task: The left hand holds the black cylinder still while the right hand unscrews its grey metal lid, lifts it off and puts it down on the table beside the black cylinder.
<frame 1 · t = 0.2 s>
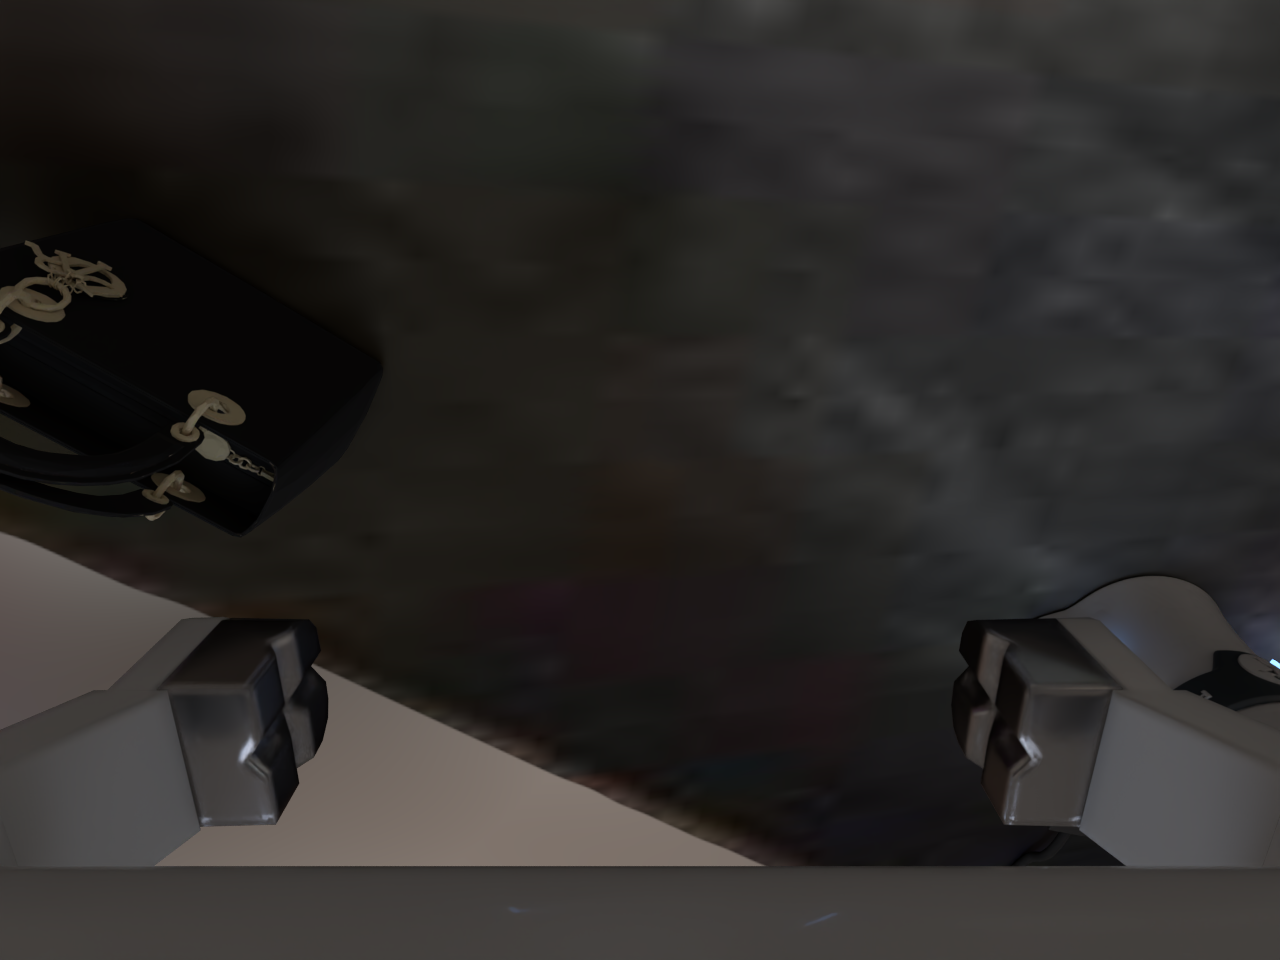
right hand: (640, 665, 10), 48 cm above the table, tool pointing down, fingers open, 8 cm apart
handbag: (241, 344, 57), on the table
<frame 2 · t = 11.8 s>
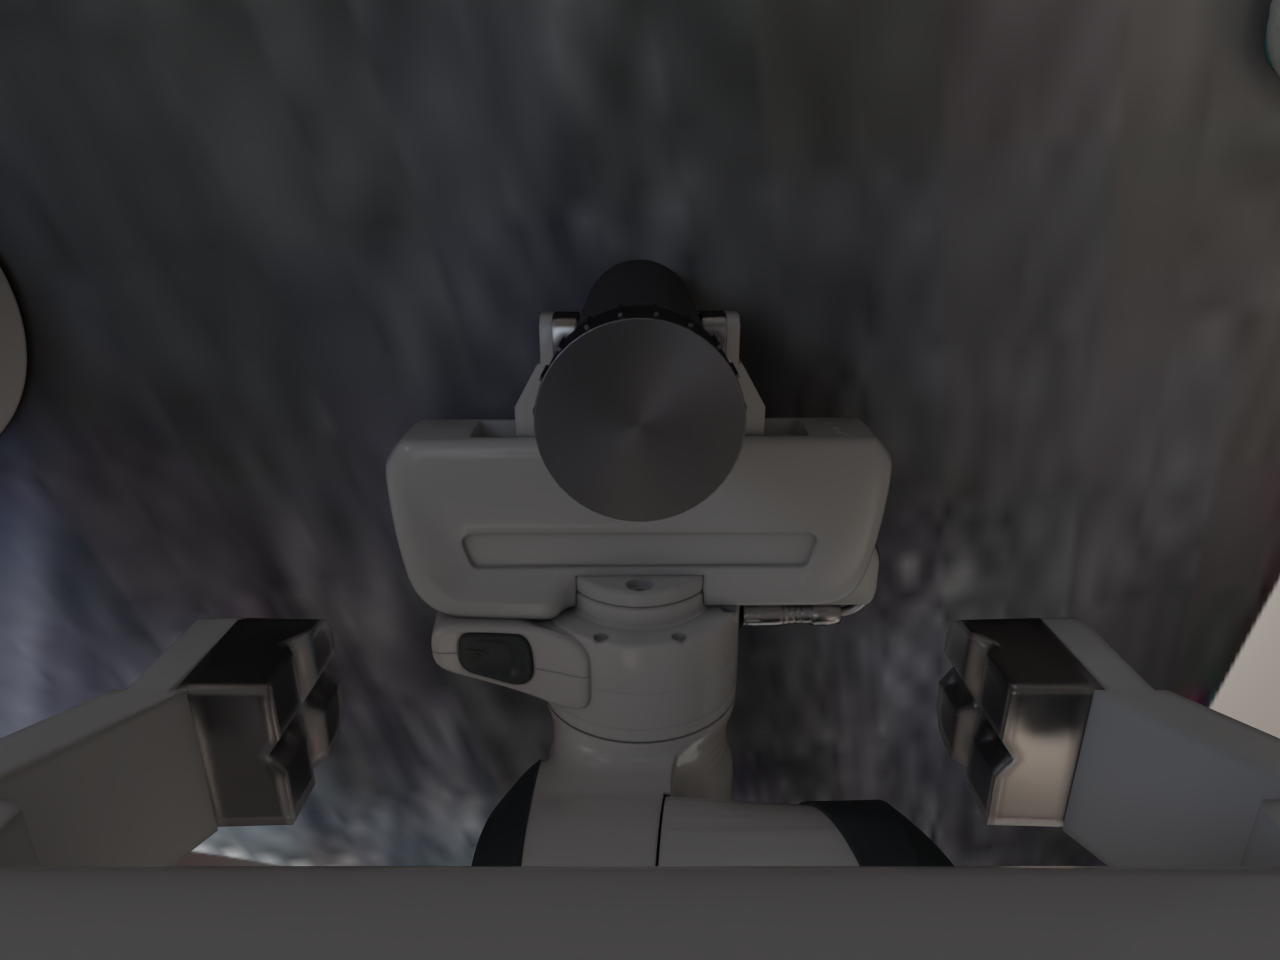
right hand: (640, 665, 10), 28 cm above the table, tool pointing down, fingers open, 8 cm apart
left hand: (638, 312, 32), fingers closed on black cylinder, 5 cm apart
black cylinder: (639, 314, 37), on the table, touching left hand
lid: (639, 420, 21), point 17 cm above the table, screwed on, not yet turned
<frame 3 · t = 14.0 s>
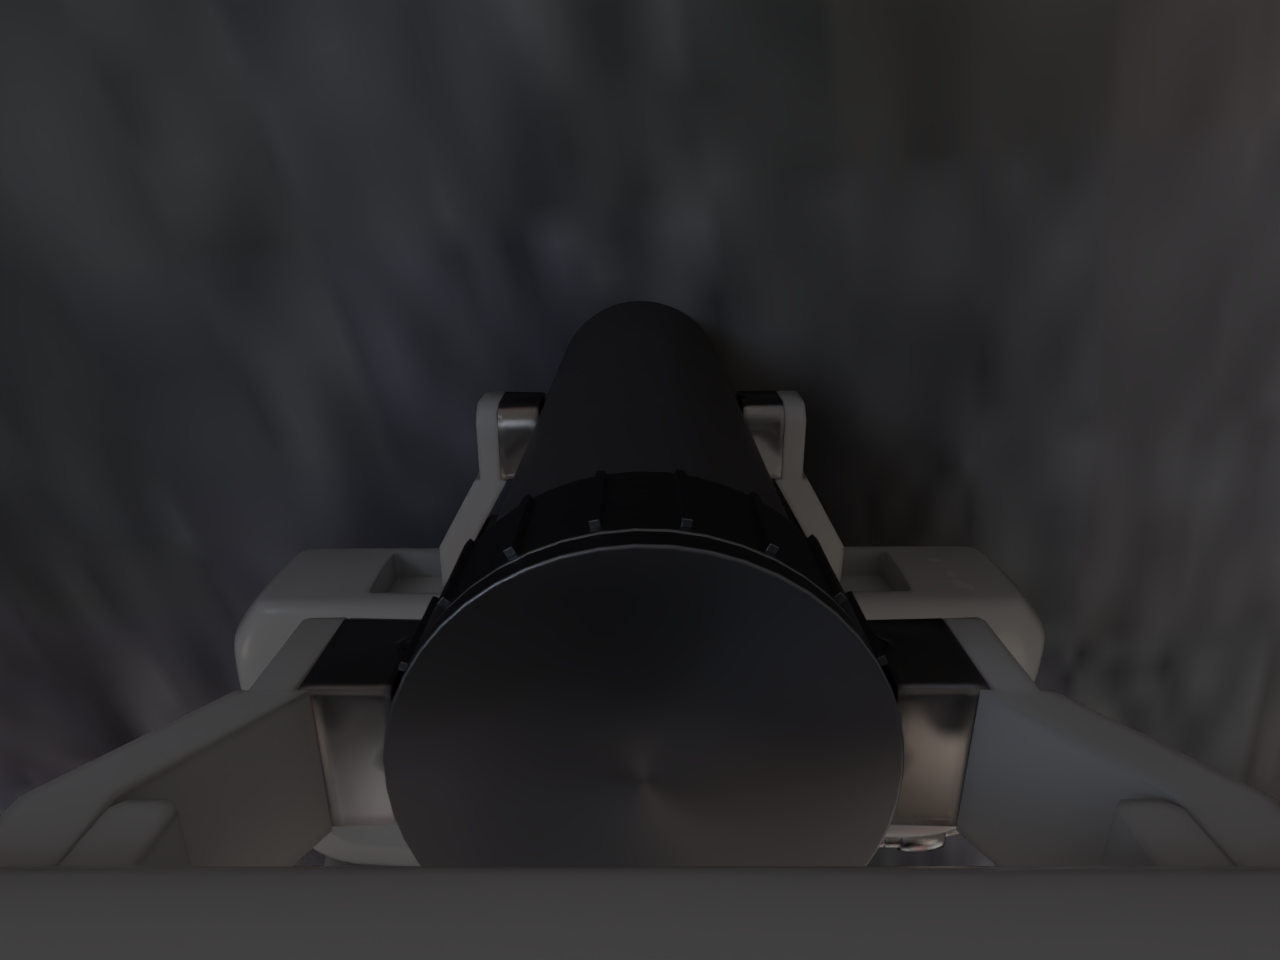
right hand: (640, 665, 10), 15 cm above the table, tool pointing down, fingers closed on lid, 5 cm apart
black cylinder: (640, 381, 25), on the table, touching left hand
lid: (643, 758, 9), point 17 cm above the table, screwed on, not yet turned, touching right hand
when the right hand's fingers open (15 cm above the table, at t = 15.3 s): lid stays where it is, point 17 cm above the table.
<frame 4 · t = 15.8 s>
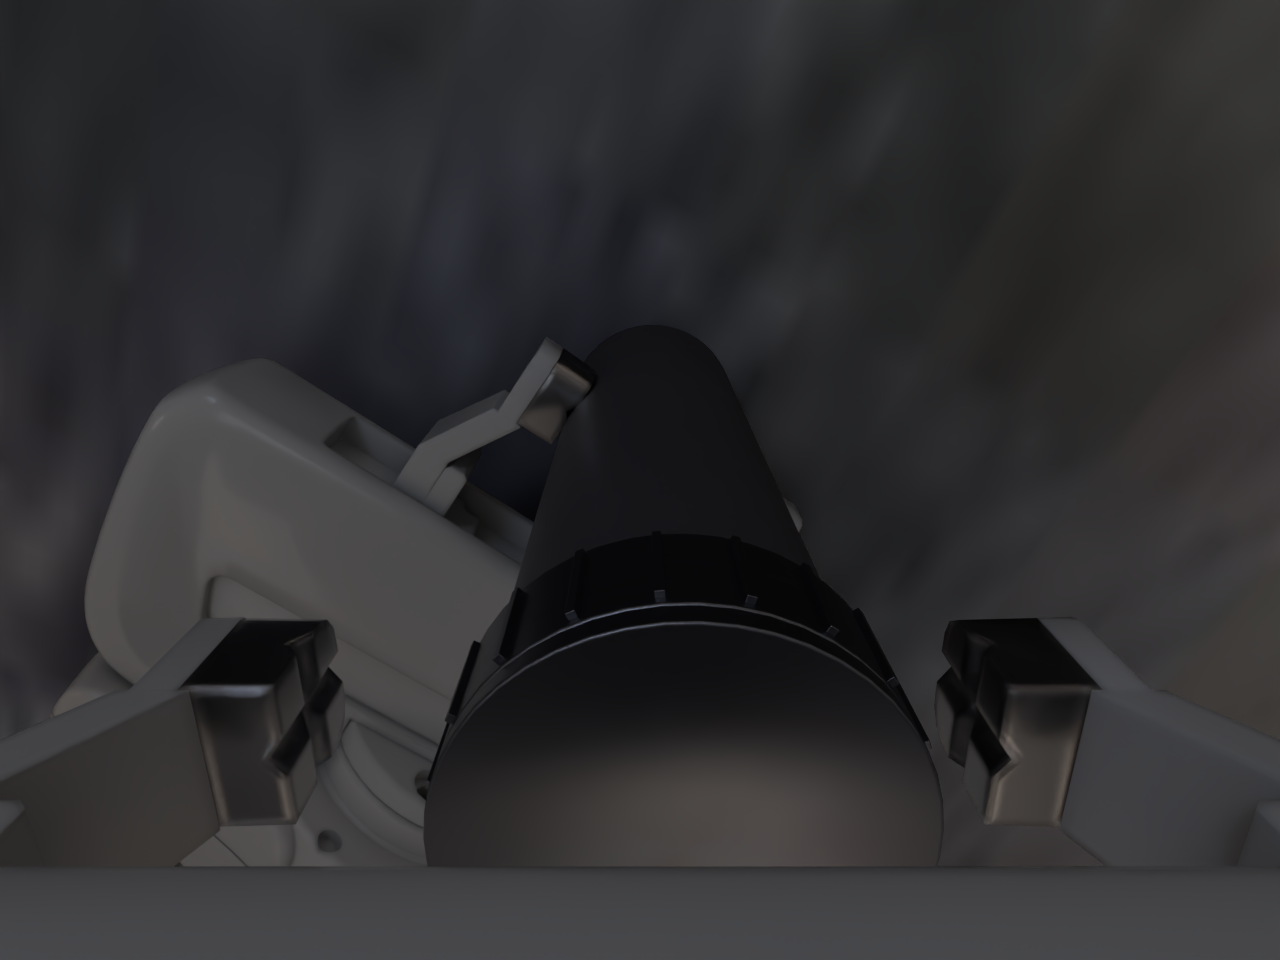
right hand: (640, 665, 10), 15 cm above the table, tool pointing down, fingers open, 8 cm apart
left hand: (675, 428, 20), fingers closed on black cylinder, 5 cm apart
black cylinder: (651, 404, 25), on the table, touching left hand
lid: (681, 824, 9), point 17 cm above the table, turned 68° so far, risen 0.2 cm, still on its thread
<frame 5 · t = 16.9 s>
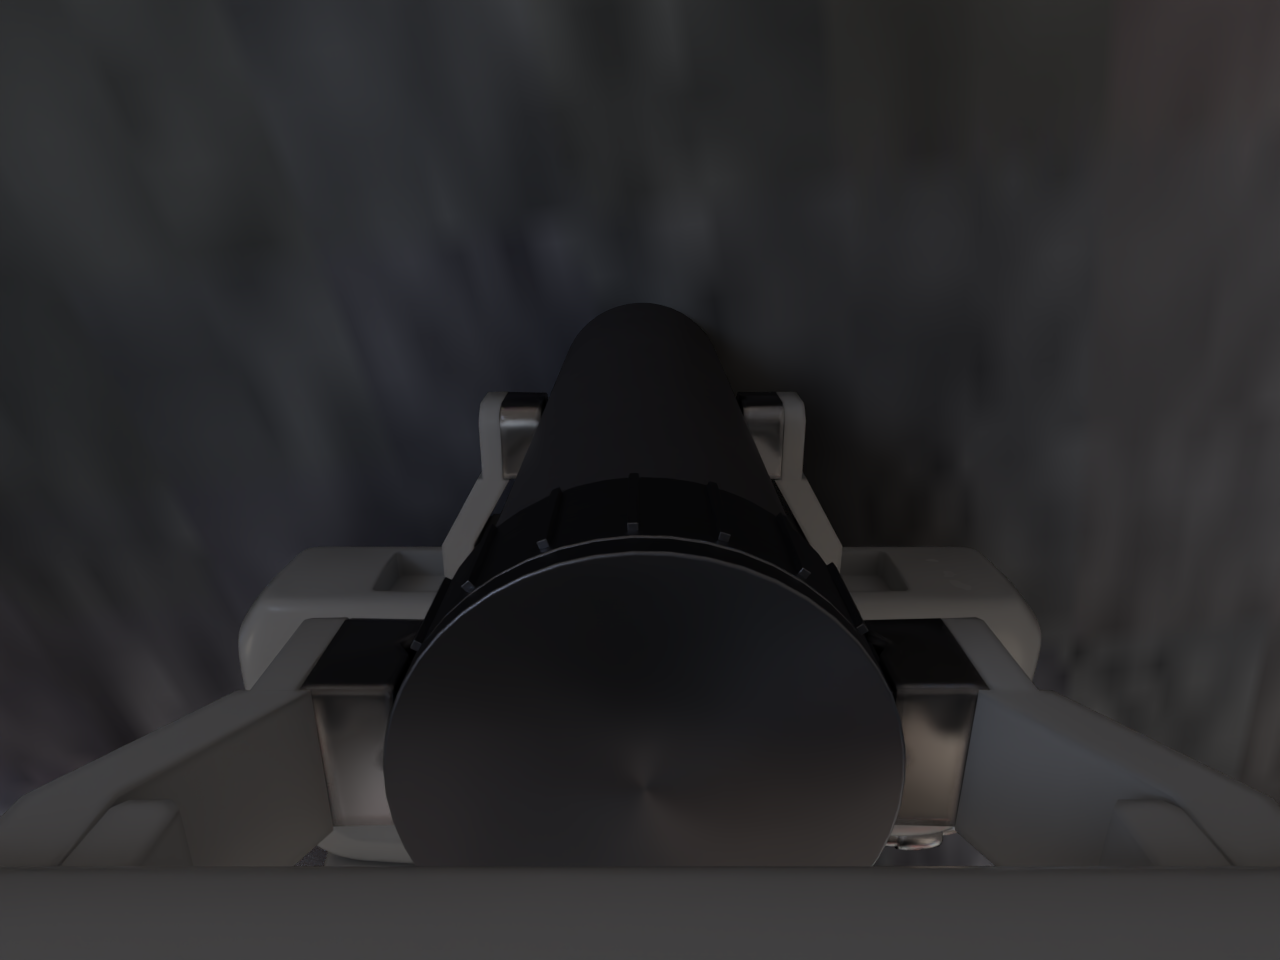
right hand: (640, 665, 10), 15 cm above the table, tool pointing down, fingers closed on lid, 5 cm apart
black cylinder: (641, 382, 25), on the table, touching left hand
lid: (644, 765, 9), point 17 cm above the table, turned 68° so far, risen 0.2 cm, still on its thread, touching right hand
when the right hand's fingers open (2 cm above the table, at t = 22.9 s): lid drops 2 cm, point 2 cm above the table.
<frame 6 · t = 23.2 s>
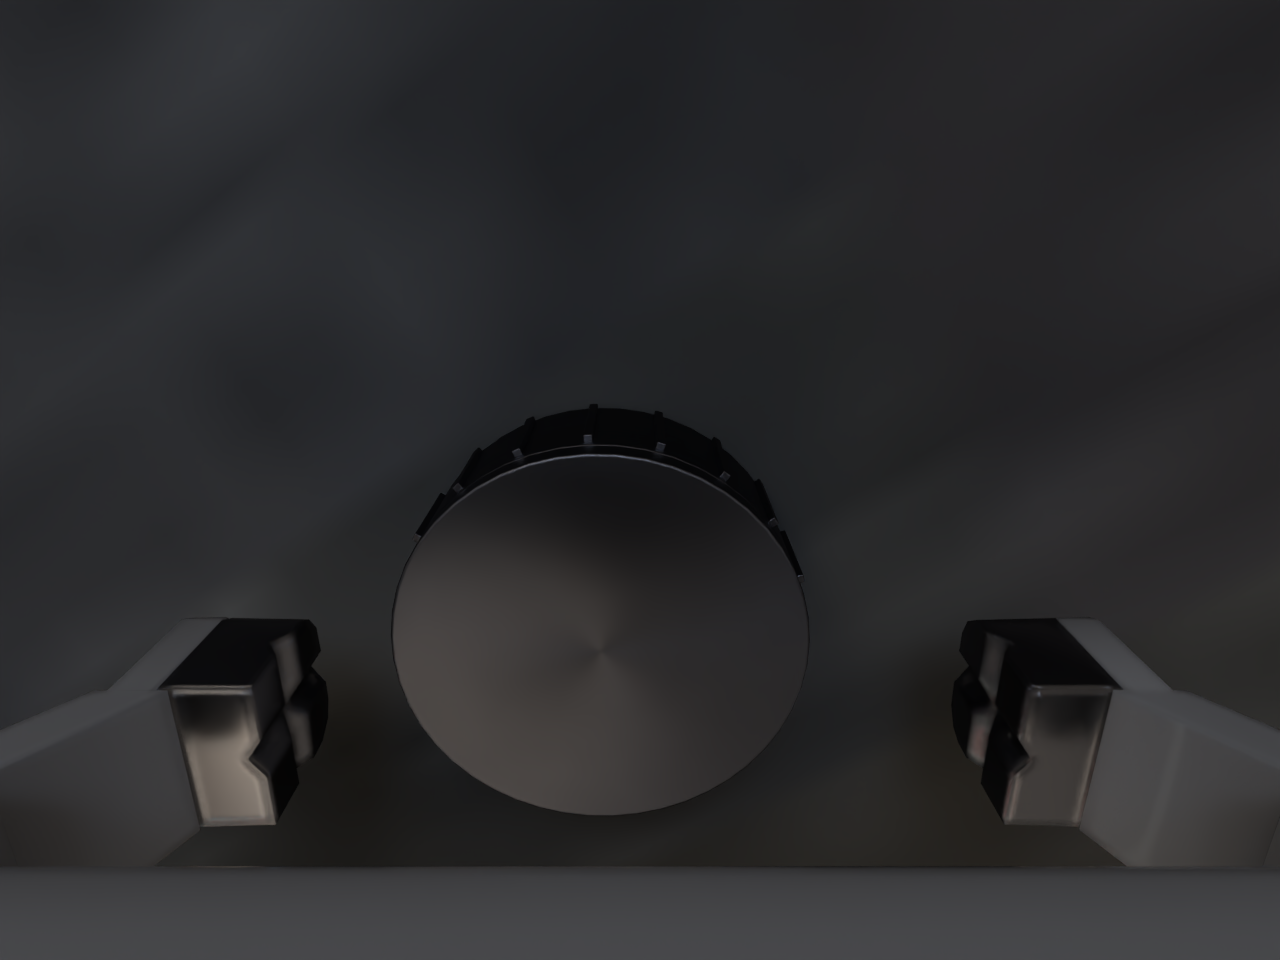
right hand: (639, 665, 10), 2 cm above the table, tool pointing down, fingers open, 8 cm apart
lid: (601, 637, 11), point 2 cm above the table, off its thread
when the left hand's fingers open (5 cm above the table, at t = 23.9 s): black cylinder stays where it is, on the table.
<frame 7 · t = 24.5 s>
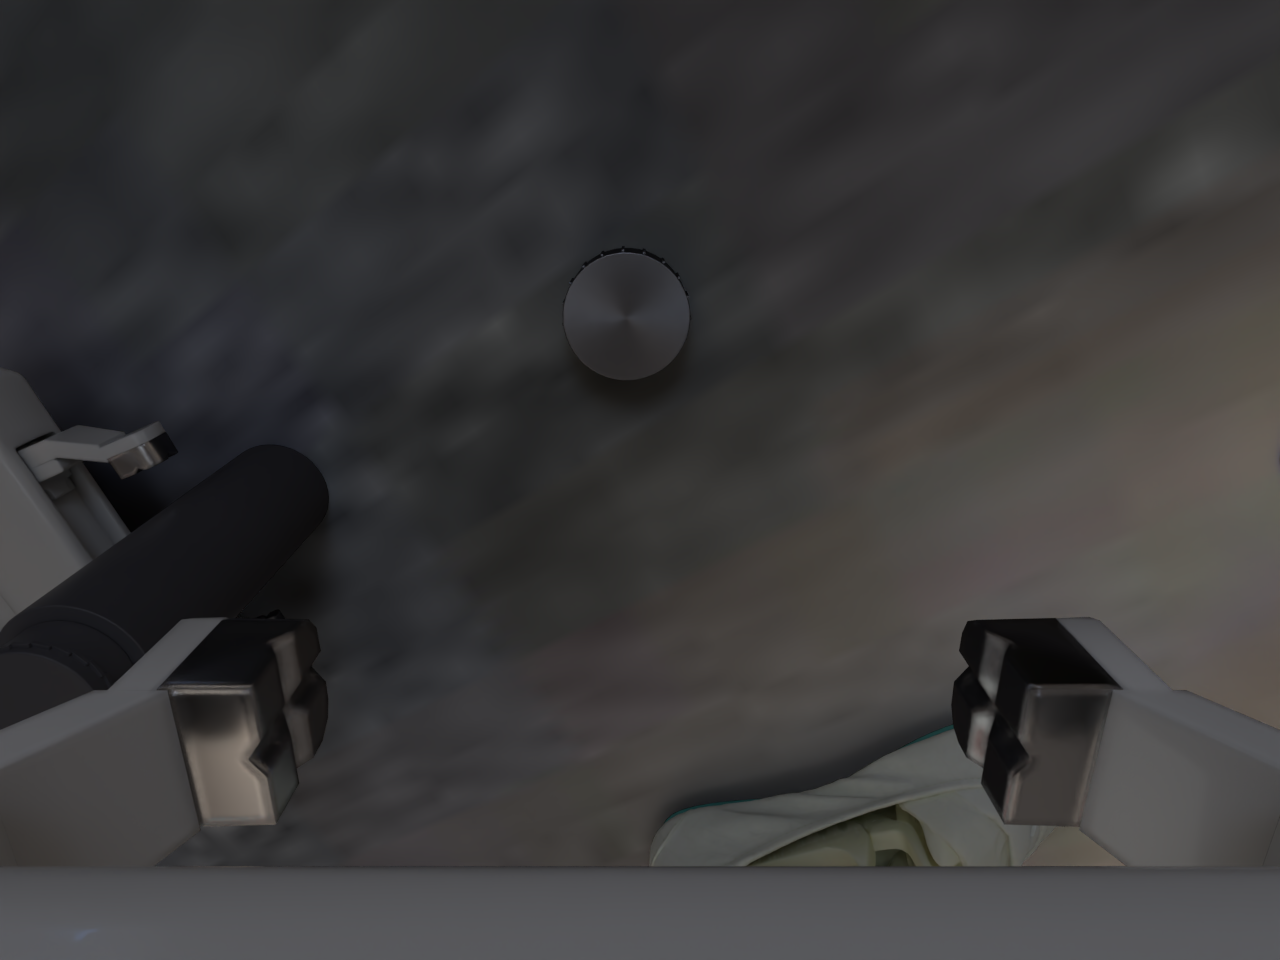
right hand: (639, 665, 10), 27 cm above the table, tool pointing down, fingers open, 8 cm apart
black cylinder: (277, 492, 39), on the table
lid: (626, 316, 34), point 2 cm above the table, off its thread
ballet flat: (859, 794, 46), on the table
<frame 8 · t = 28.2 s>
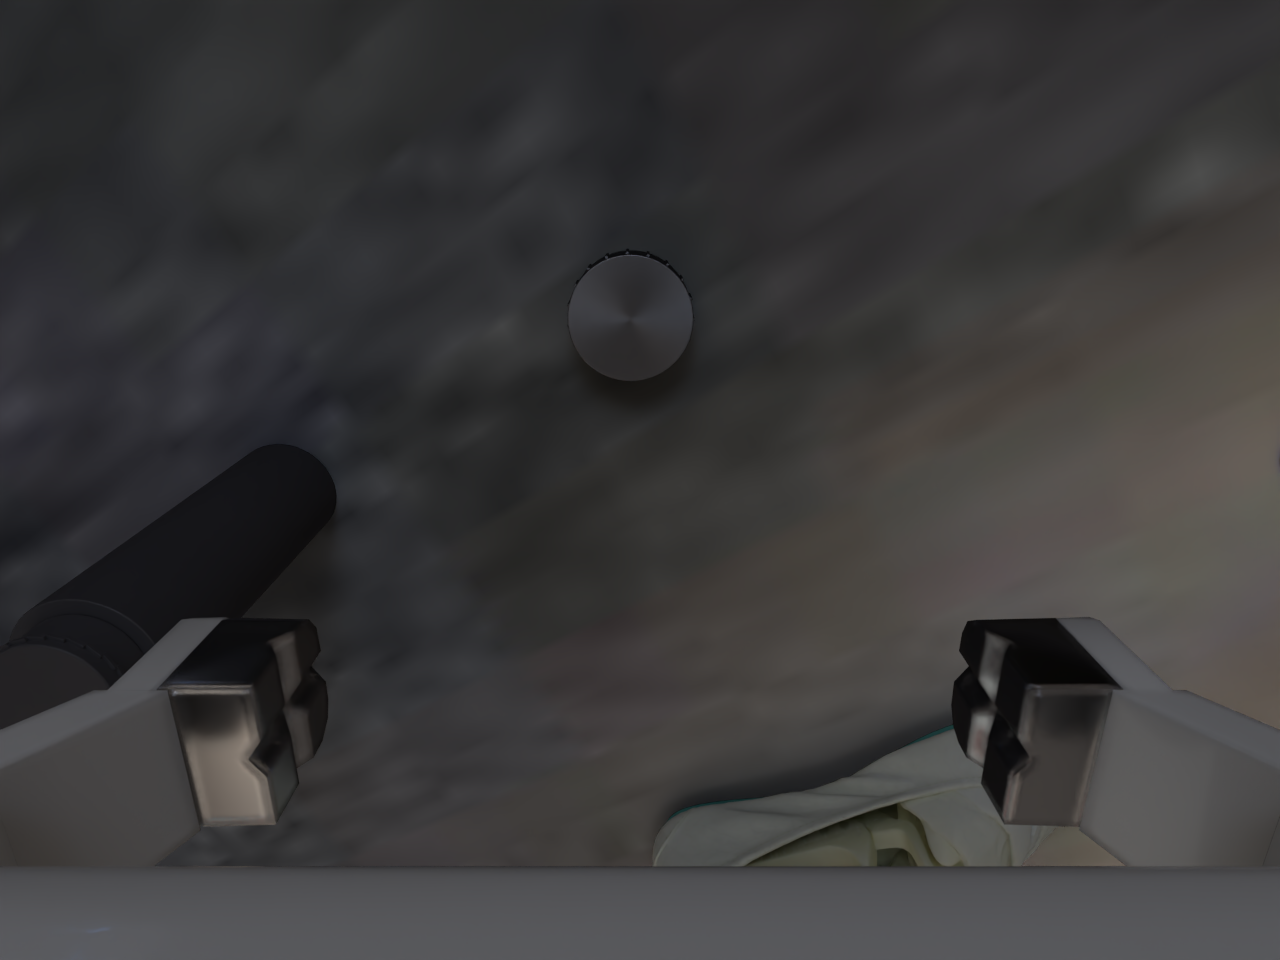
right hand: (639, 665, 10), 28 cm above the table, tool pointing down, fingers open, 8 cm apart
black cylinder: (286, 491, 39), on the table
lid: (630, 318, 35), point 2 cm above the table, off its thread
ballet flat: (860, 794, 46), on the table
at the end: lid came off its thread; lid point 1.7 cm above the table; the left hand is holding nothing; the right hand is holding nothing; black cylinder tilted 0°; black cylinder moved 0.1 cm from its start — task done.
